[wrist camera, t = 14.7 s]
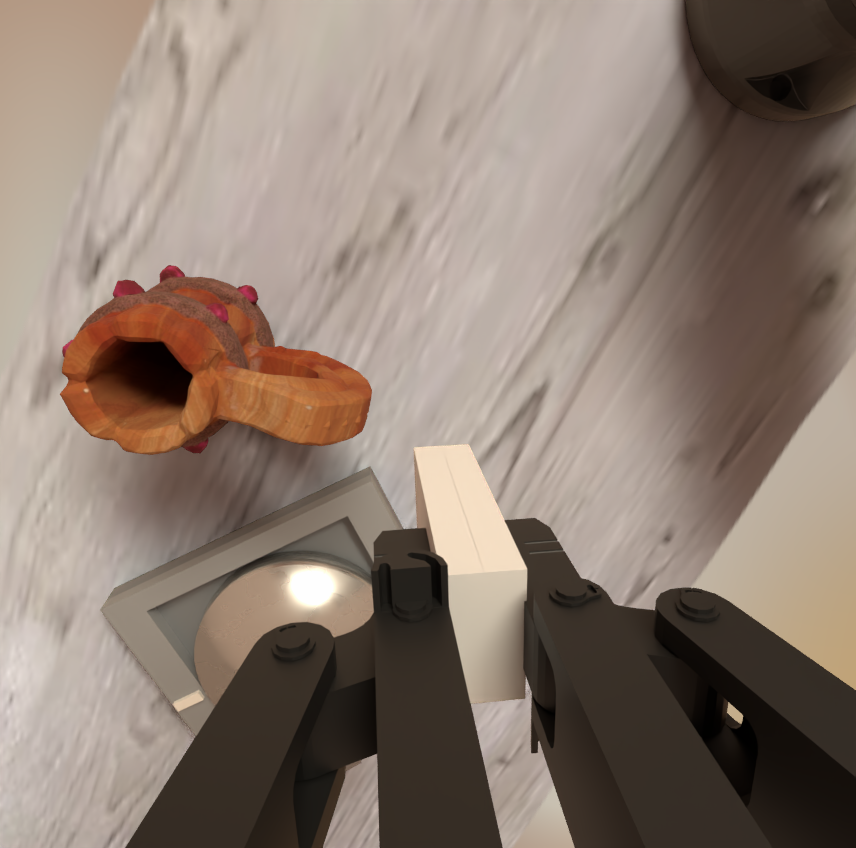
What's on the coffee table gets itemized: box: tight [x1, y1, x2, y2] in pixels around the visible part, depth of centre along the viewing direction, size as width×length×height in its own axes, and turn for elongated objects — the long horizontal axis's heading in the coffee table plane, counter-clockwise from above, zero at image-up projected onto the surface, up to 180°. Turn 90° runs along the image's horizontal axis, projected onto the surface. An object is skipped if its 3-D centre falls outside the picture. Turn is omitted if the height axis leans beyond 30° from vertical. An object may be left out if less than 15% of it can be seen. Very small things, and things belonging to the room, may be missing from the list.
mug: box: [60, 265, 372, 455], centre depth 34 cm, size 15×8×15 cm, turn 76°
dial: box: [194, 551, 374, 771], centre depth 43 cm, size 14×14×6 cm
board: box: [101, 467, 403, 736], centre depth 46 cm, size 20×18×3 cm
